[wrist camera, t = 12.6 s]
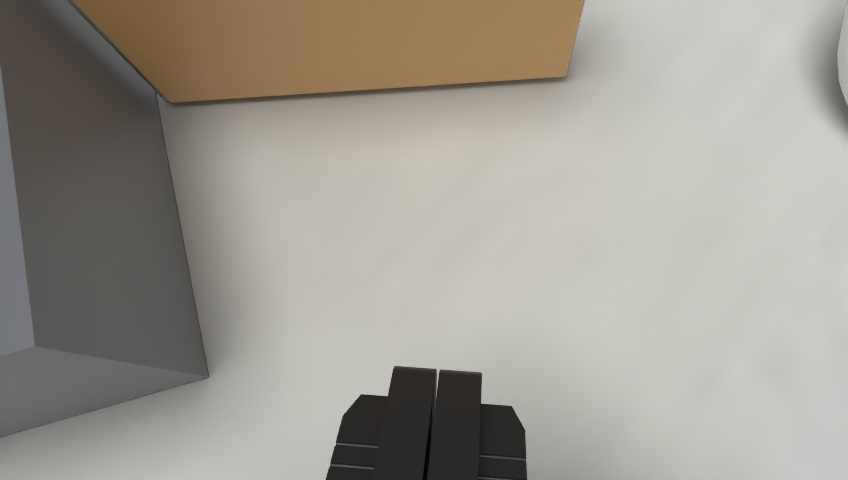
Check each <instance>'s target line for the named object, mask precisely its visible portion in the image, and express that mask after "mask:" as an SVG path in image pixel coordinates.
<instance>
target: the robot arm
mask: <svg viewBox="0 0 848 480" xmlns="http://www.w3.org/2000/svg"><path fill="white" fill-rule="evenodd" d="M436 384H437V369H429V368H415V367H402V366H395V367H394V369H393V373H392V378H391V383H390V388H389V393H388V396H376V395H363V394H361V395H360V396H359V397H358V399H357V400H356V401H355V402H354V403H353V405H352V406H351V407H350V408H349V409H348V410H347V412H346V413H345V414H344V415H343V418H342V421H341V425H340V429H339V432H338V436H337V440H336V446H335V447H334V451H333V455H332V458H331V464H330V468H329V470H328V473H327V477H326V480H527V469H526V442H525V429H524V428H523V426H522V424H521V422H520V420H519V419H518V417H517V415H516V413H515V411H514V410H513V408H512V406H503V405H490V404H481V385H482V373H480V372H467V371H453V370H440V372H439V380H438V388H437V397H436Z"/></svg>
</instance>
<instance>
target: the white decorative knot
mask: <svg viewBox="0 0 848 480" xmlns="http://www.w3.org/2000/svg"><path fill="white" fill-rule="evenodd" d="M837 57H838V74H839V83H840V86H841V89H842V92H843V95H844V98H845V100H846V103H847V106H848V2H847V5H846V7H845V10H844V16H843V22H842V28H841V34H840V40H839V45H838V51H837Z"/></svg>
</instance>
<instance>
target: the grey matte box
mask: <svg viewBox="0 0 848 480" xmlns="http://www.w3.org/2000/svg"><path fill="white" fill-rule="evenodd" d="M208 377H209V375H208V370H207V365H206V359H205V354H204V349H203V344H202V338H201V333H200V328H199V322H198V317H197V312H196V306H195V301H194V296H193V290H192V285H191V280H190V275H189V269H188V264H187V259H186V253H185V248H184V243H183V237H182V232H181V227H180V221H179V216H178V211H177V206H176V200H175V195H174V190H173V184H172V179H171V174H170V168H169V163H168V158H167V153H166V147H165V142H164V137H163V131H162V126H161V121H160V115H159V110H158V105H157V99H156V94H155V91H154V90H153V89H152V88H151V87H150V86H149V85H148V84H147V83H146V81H145V80H144V79H143V78H142V77H141V76H140V75H139V74H138V73H137V72H136V71H135V70H134V69H133V68H132V67H131V66H130V65H129V64H128V63H127V62H126V61H125V60H124V59H123V58H122V57H121V56H120V55H119V54H118V53H117V52H116V51H115V50H114V49H113V48H112V47H111V46H110V45H109V44H108V43H107V42H106V40H105V39H104V38H103V37H102V36H101V35H100V34H99V33H98V32H97V31H96V30H95V29H94V28H93V27H92V26H91V25H90V24H89V23H88V22H87V21H86V20H85V19H84V18H83V17H82V16H81V15H80V14H79V13H78V12H77V11H76V10H75V9H74V8H73V7H72V6H71V5H70V4H69V3H68V2H67V1H66V0H0V437H2V436H6V435H9V434H13V433H16V432H20V431H23V430H27V429H30V428H34V427H37V426H41V425H44V424H48V423H51V422H55V421H58V420H62V419H65V418H69V417H72V416H76V415H79V414H83V413H86V412H90V411H93V410H96V409H100V408H103V407H107V406H110V405H114V404H117V403H121V402H124V401H128V400H131V399H135V398H138V397H142V396H145V395H149V394H152V393H156V392H159V391H163V390H166V389H170V388H173V387H177V386H180V385H184V384H187V383H191V382H194V381H198V380H201V379H205V378H208Z"/></svg>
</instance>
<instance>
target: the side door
mask: <svg viewBox="0 0 848 480" xmlns="http://www.w3.org/2000/svg"><path fill="white" fill-rule="evenodd" d="M67 1H68V2H69V3H70V4H71V5H72V6H73V7H74V8H75V10H76V11H77V12H78V13H79V14H80V15H81V16H82V17H83V18H84V19H85V20H86V21H87V22H88V23H89V24H90V25H91V26H92V27H93V28H94V29H95V30H96V31H97V32H98V33H99V34H100V35H101V36H102V37H103V38H104V39H105V40H106V41H107V42H108V43H109V44H110V45H111V46H112V47H113V48H114V49H115V51H116V52H117V53H118V54H119V55H120V56H121V57H122V58H123V59H124V60H125V61H126V62H127V63H128V64H129V65H130V66H131V67H132V68H133V69H134V70H135V71H136V72H137V73H138V74H139V75H140V76H141V77H142V78H143V79H144V80H145V81H146V82H147V83H148V84H149V85H150V86H151V87H152V88H153V89H154V90H155V92H156V93H157V94H158V95H159V96H160V97H161V98H162V99H163V100H165V101H169V102H170V103H173V102H188V101H204V100H219V99H234V98H249V97H264V96H279V95H294V94H309V93H324V92H340V91H355V90H370V89H385V88H400V87H415V86H430V85H445V84H461V83H476V82H491V81H506V80H521V79H536V78H551V77H566V76H567V72H568V67H569V63H570V59H571V55H572V51H573V47H574V43H575V38H576V34H577V30H578V26H579V22H580V18H581V14H582V10H583V5H584V1H585V0H67Z"/></svg>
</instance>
